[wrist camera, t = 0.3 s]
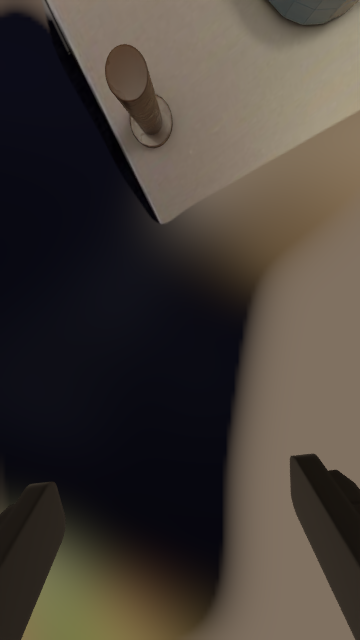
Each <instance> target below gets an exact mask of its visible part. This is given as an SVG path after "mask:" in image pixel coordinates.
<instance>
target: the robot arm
mask: <svg viewBox="0 0 360 640" xmlns="http://www.w3.org/2000/svg"><path fill="white" fill-rule="evenodd" d="M290 480H291V497H292V502H293V506H294V509H295V512H296V514H297V517H298V519H299V521H300V523H301V525H302V527H303V529H304V532H305V534H306V536H307V538H308V540H309V542H310V544H311V546H312V548H313V551H314V553H315V555H316V557H317V559H318V561H319V563H320V565H321V568H322V570H323V572H324V574H325V576H326V578H327V580H328V583H329V585H330V587H331V589H332V591H333V593H334V595H335V597H336V600H337V601H338V604H339V606H340V607H341V610H342V612H343V614H344V616H345V619H346V620H347V623H348V625H349V627H350V629H351V631H352V633H353V636H354V638H355V640H360V489H359V488H358V487H357V485H356V484H355V483H354V482H353V481H351V480H350V479H349V478H347V477H346V476H345V475H343V474H342V473H340V472H339V471H338V470H330V471H328V470H327V469H326V468H325V466H324V465H323V463H322V462H321V461H320V459H319V458H318V457H317V456H316V455H315V454H305V455H296V456H291V457H290ZM65 521H66V520H65V514H64V511H63V507H62V504H61V500H60V496H59V493H58V489H57V486H56V484H55V483H54V482H47V483H37V484H30V485H29V486H27V487H26V489H25V490H24V492H23V493H22V494H21V496H20V497H19V499H18V501H17V502H16V503H15V504H12V505H10V506H9V507H8V508H6V510H4V511H3V512H2V513H1V514H0V640H21V638H22V635H23V633H24V631H25V629H26V626H27V624H28V621H29V619H30V617H31V614H32V611H33V609H34V607H35V605H36V602H37V600H38V597H39V595H40V593H41V590H42V588H43V585H44V583H45V580H46V578H47V576H48V573H49V571H50V568H51V566H52V563H53V561H54V559H55V556H56V554H57V551H58V549H59V547H60V544H61V542H62V539H63V536H64V532H65V524H66V522H65Z"/></svg>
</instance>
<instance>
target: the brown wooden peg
mask: <svg viewBox="0 0 360 640" xmlns="http://www.w3.org/2000/svg"><path fill="white" fill-rule="evenodd" d="M105 75H106V80H107V83H108V86H109V88H110V90H111V91H112V93H113V94H114V95H115V96H116V98H117V99H118V100H119V101H120V103H121V104H122V105H123V106H124V108H125V109H126V110H127V111H128V113H129V114H130V126H131V129H132V132H133V134H134V136H135V137H136V138H137V140H138V141H139V142H140V143H142V144H143V145H145V146H147V147H150V148H156V147H159V146H161V145H163V144H164V143H165V142H166V141H167V140H168V138H169V136H170V134H171V131H172V115H171V111H170V109H169V107H168V105H167V103H166V102H165V101H164V100H163V99H162V98H161V97H159V96H158V95H155V92H154V88H153V85H152V82H151V78H150V75H149V71H148V68H147V65H146V62H145V59H144V58H143V56H142V54H141V53H140V52H139V51H138V50H137V49H136V48H134V47H133V46H131V45H127V44H123V45H119V46H117V47H115V48H114V49H113V50H112V51H111V52H110V54H109V56H108V58H107V61H106V66H105Z"/></svg>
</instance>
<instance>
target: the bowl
mask: <svg viewBox="0 0 360 640" xmlns="http://www.w3.org/2000/svg"><path fill="white" fill-rule="evenodd" d="M268 1H269V2H270V3H271V4H272V5H273V6H274V7H275V8H276V9H277V11H278V12H279V13H280V14H281V15H282V16H284V17H285V18H287V19H289V20H292V21H294V22H296V23H299V24H301V25H302V24H303V25H310V24H323V23H326V22H328V21H330V20H332V19H334V18H336V17H338V16H340V15H342V14H344V13H345V12H347V11H348V10H349V9H350V8H351V7H352V6H353V5H354V4H356V3H357V2H358V1H359V0H268Z"/></svg>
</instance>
